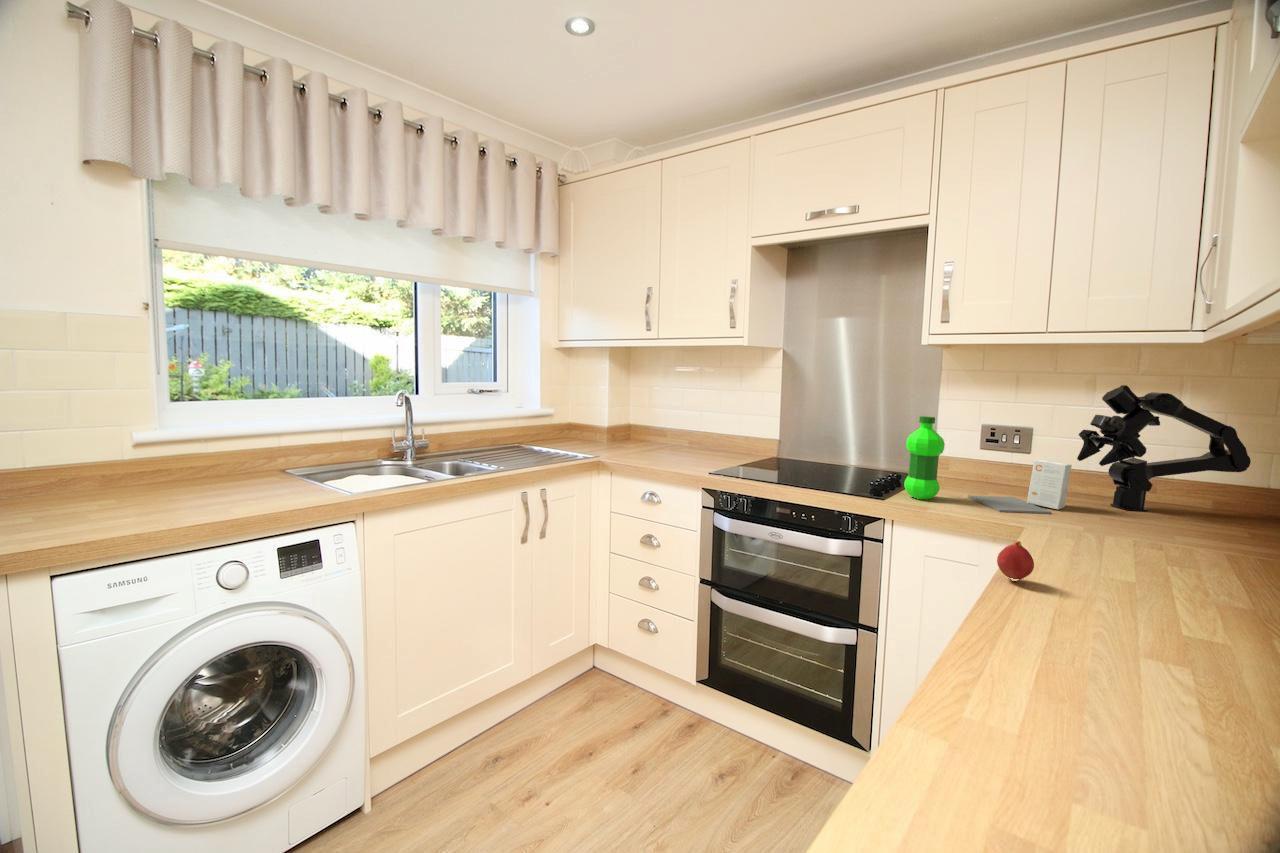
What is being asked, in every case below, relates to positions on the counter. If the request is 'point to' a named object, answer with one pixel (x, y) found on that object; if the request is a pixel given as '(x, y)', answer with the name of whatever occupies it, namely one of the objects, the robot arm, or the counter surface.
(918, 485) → the plastic bottle
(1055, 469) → the small box
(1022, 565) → the onion
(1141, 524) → the counter surface
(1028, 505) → the mat
